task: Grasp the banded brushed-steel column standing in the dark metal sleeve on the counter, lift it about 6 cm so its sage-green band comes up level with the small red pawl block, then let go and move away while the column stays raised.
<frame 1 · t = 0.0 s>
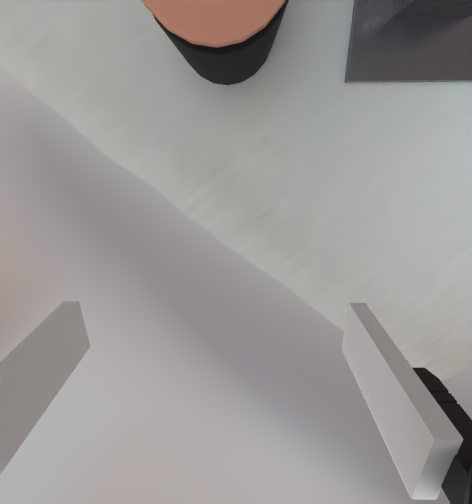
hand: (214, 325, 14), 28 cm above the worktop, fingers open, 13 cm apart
coffee jar: (226, 33, 33), on the worktop
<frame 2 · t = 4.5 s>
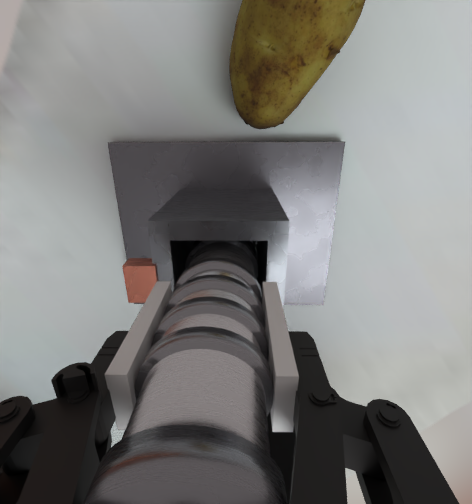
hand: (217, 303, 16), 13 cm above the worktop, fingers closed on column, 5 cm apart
coffee jar: (269, 392, 37), on the worktop
stand: (227, 229, 28), on the worktop
potato: (282, 37, 22), on the worktop
column: (218, 295, 17), point 12 cm above the worktop, slide at 0.0 cm, touching gripper
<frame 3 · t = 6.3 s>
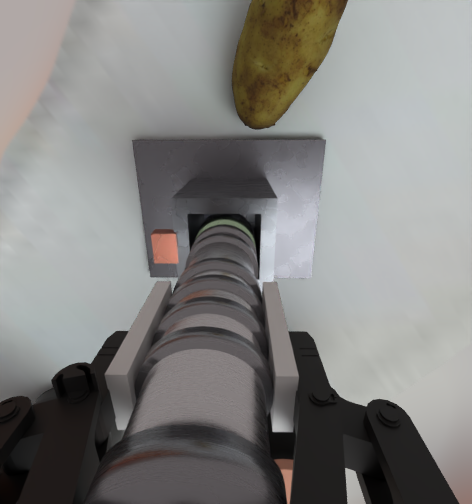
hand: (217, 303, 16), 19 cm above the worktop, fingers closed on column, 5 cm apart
coffee jar: (265, 358, 42), on the worktop
stand: (229, 213, 34), on the worktop
potato: (274, 56, 28), on the worktop
column: (218, 295, 17), point 18 cm above the worktop, slide at 5.9 cm, touching gripper
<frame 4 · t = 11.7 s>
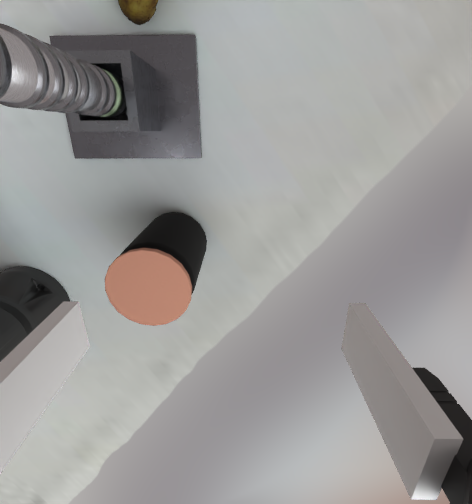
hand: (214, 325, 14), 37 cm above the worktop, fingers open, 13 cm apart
coffee jar: (178, 238, 52), on the worktop
stand: (132, 101, 43), on the worktop
column: (63, 82, 26), point 18 cm above the worktop, slide at 6.0 cm
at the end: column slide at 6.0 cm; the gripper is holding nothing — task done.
